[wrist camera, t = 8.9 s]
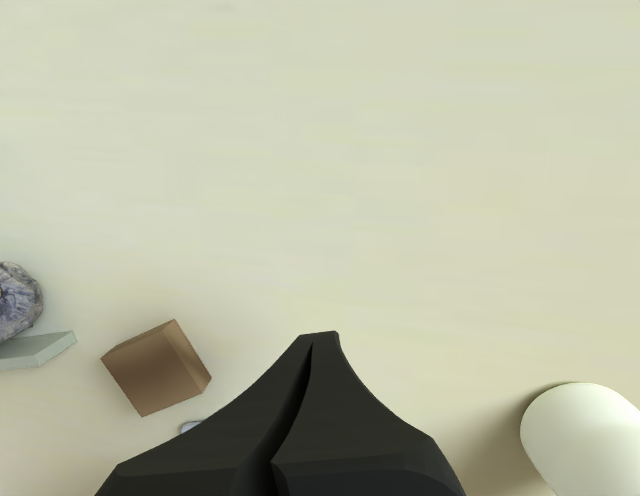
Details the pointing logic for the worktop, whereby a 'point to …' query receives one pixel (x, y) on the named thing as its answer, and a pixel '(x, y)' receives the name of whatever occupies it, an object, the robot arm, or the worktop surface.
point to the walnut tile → (157, 368)
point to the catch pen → (33, 350)
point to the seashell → (17, 300)
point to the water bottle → (584, 441)
